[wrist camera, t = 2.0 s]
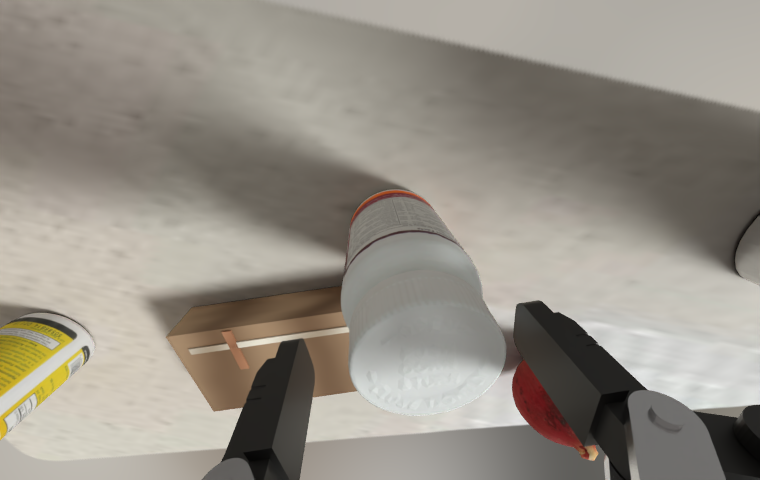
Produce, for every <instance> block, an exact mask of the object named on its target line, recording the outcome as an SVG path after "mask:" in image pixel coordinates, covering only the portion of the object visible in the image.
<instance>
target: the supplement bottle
mask: <svg viewBox="0 0 760 480" xmlns="http://www.w3.org/2000/svg"><path fill="white" fill-rule="evenodd" d="M94 351H95V343H94V341H93V338H92V337H91V335H90V334H89V333H88V332H87V331H86V330H85V329H84V328H83V327H82V326H80V325H79V324H77V323H76V322H74V321H72V320H70V319H68V318H66V317H63V316H60V315H56V314H50V313H32V314H27V315H24V316H22V317H19V318H18V319H16V320H14V321H12V322H10V323H8V324H7V325H5V326H3V327H2V328H0V440H1V439H2V438H3V437H4V436H5V435H6V434H7V433H8V432H10V431H11V430H12V429H13V428H14V427H15V426H16V425H17V424H18V423H19V422H21V421H22V420H23V419H24V418H25V417H26V416H27V415H28V414H29V413H31V412H32V411H33V410H34V409H35V408H36V407H37V406H38V405H39V404H41V403H42V402H43V401H44V400H45V399H46V398H47V397H48V396H50V395H51V394H52V393H53V392H54V391H55V390H56V389H57V388H58V387H59V386H61V385H62V384H63V383H64V382H65V381H66V380H67V379H68V378H70V377H71V376H72V375H73V374H74V373H75V372H76V371H77V370H78V369H79V368H80V367H82V366H83V365H84V364H85V363H86V362H87V361H88V360H89V359H90V358H91V357H92V355H93V354H94Z"/></svg>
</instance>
